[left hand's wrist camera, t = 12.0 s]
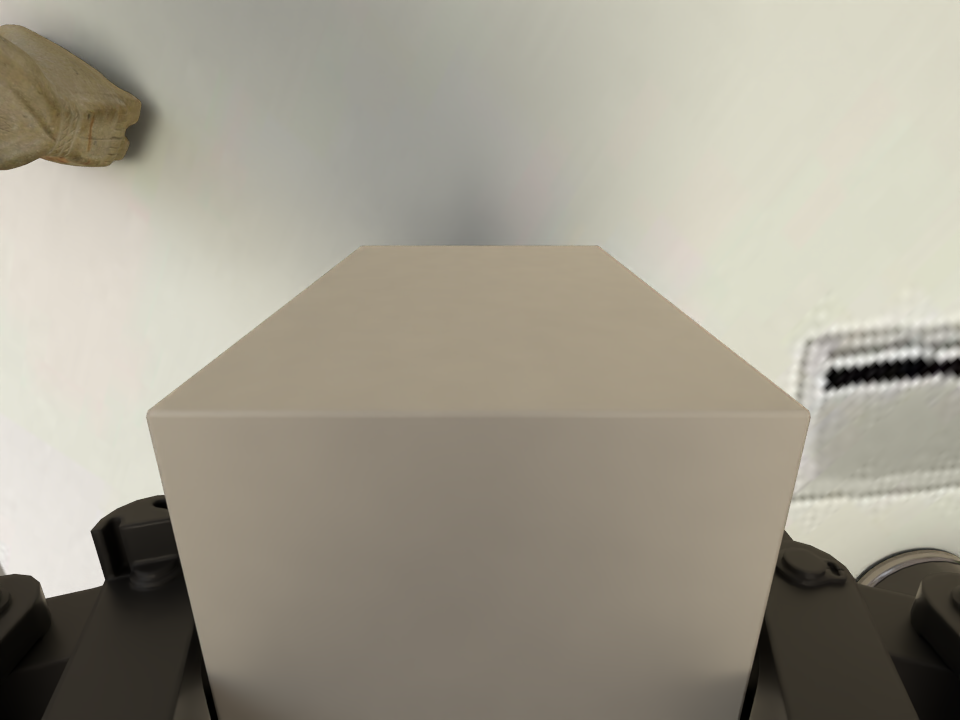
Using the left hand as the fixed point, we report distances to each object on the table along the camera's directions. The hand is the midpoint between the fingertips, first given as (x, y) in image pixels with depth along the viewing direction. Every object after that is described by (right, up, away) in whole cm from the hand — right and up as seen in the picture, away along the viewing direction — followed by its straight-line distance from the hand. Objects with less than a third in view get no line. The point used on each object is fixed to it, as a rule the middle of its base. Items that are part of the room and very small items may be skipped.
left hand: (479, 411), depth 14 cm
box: (0, -8, +4) cm, 9 cm away
